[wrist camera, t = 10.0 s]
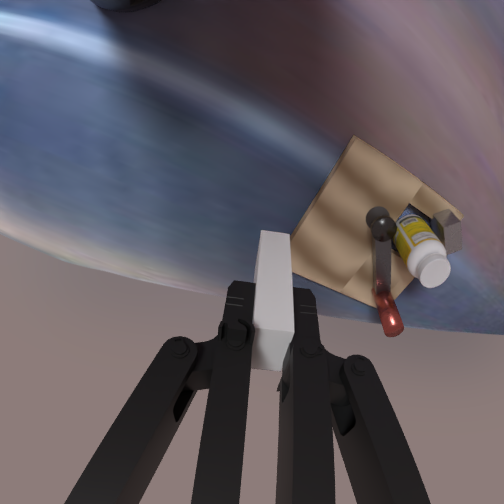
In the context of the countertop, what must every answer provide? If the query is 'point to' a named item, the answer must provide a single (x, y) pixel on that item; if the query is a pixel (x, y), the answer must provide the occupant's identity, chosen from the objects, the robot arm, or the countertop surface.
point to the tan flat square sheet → (358, 221)
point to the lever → (384, 275)
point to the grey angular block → (447, 230)
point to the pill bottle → (421, 251)
